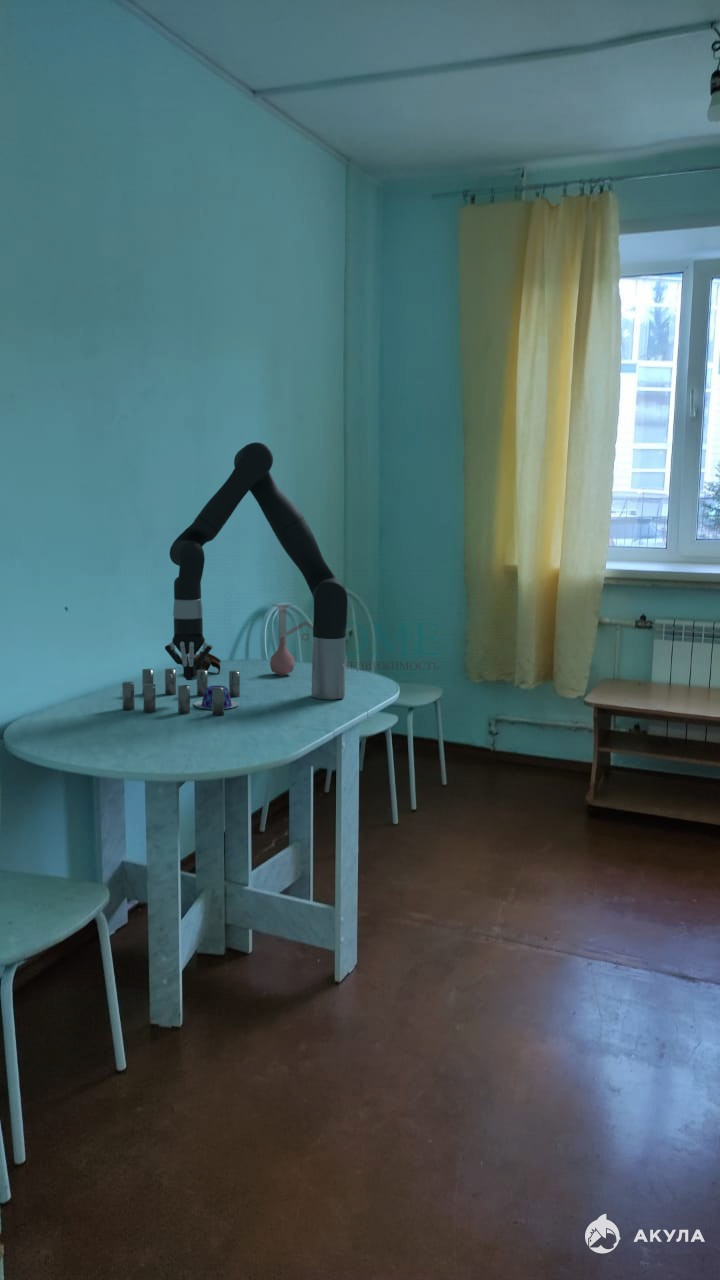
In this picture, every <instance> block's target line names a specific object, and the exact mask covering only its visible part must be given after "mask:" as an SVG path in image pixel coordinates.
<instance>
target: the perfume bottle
mask: <svg viewBox="0 0 720 1280" xmlns="http://www.w3.org/2000/svg"><path fill="white" fill-rule="evenodd" d="M269 661H270V662H269V666H270V667H269V668H270V669H271V672H273V673H275V674H277V675H278V676H280V677H285V676H286V675H287V674H290V673H292V672H293V669H294V667H295V659H294V656H293V655H292V654H291V653H290V652H289V650H288V648H287V647H286V637H285V636H280V637H279V646H278V648H277V650H276V651H275V652H274V653H273V654H272V655H271V657H270V660H269Z"/></svg>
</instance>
